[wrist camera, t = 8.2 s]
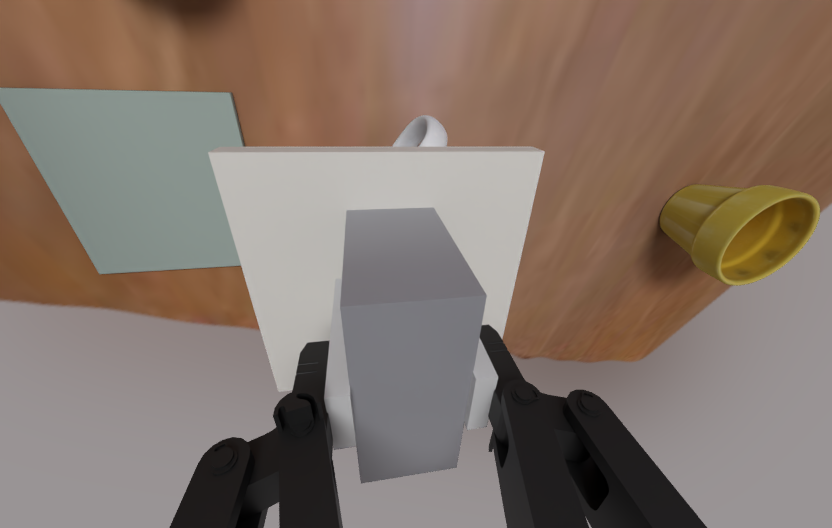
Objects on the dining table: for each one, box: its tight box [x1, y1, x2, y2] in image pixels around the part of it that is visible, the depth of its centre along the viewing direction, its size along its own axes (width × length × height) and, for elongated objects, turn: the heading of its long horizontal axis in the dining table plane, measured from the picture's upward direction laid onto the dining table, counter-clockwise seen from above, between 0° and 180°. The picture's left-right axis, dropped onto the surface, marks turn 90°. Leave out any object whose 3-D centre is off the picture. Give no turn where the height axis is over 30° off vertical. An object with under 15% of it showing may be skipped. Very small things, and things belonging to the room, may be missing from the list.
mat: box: [0, 88, 245, 274], centre depth 28 cm, size 16×16×1 cm
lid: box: [208, 147, 545, 483], centre depth 14 cm, size 14×14×8 cm
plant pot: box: [660, 184, 820, 285], centre depth 36 cm, size 10×10×10 cm
